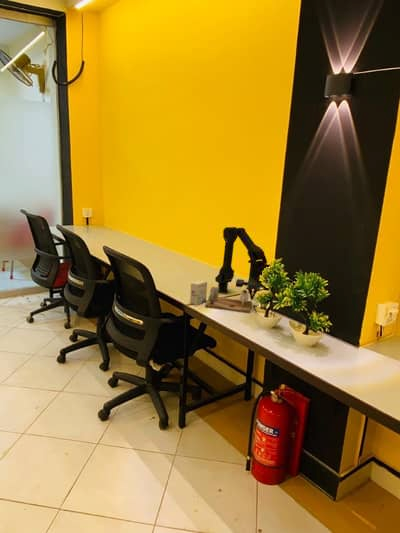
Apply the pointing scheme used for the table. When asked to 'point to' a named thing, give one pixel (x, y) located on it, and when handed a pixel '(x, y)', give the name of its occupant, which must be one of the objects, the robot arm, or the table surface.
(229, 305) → the hole board
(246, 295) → the gauge slider
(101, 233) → the table surface
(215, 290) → the gauge fixed leg
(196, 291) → the ink box
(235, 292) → the table surface
